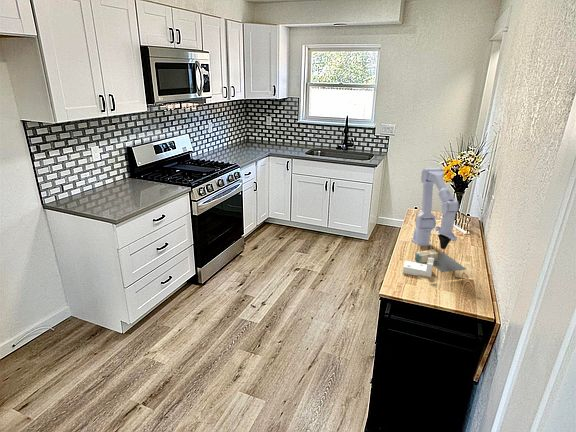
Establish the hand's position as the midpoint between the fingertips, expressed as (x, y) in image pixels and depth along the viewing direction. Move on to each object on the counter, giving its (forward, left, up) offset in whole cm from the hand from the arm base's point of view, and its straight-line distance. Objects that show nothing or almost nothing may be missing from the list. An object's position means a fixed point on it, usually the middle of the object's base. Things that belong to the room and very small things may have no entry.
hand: (443, 248), depth 190 cm
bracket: (+8, -18, -8) cm, 21 cm away
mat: (+1, 0, -7) cm, 8 cm away
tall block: (-2, -3, -4) cm, 5 cm away
